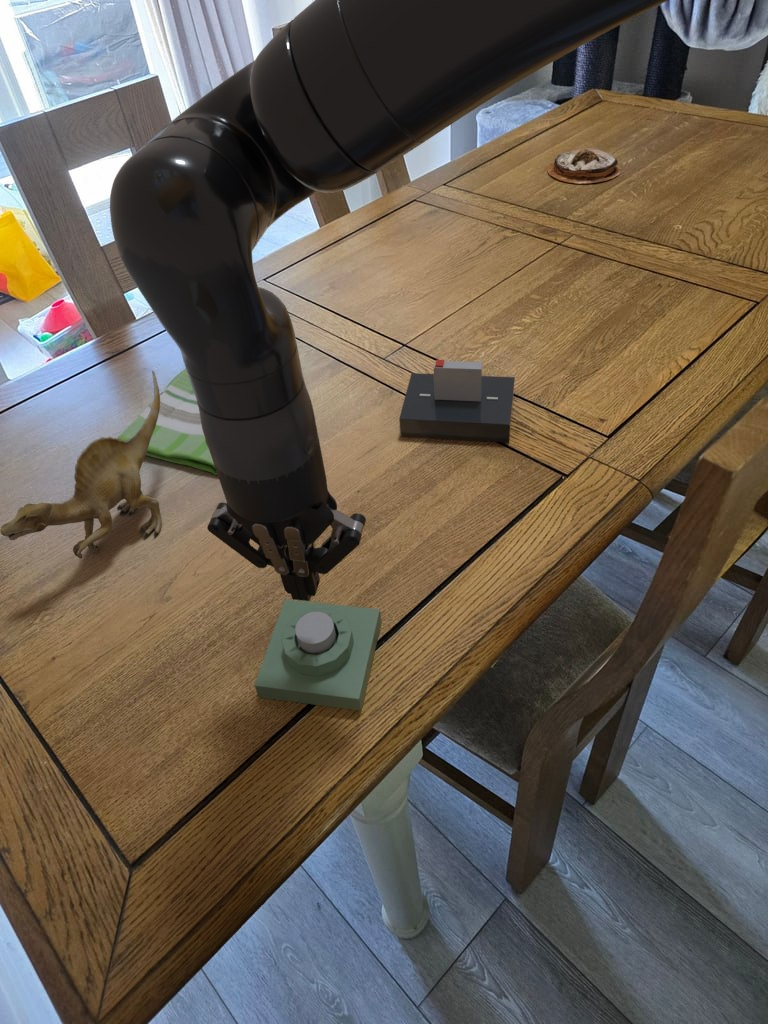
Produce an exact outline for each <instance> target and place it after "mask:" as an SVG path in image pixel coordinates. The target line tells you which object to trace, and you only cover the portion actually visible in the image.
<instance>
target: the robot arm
mask: <svg viewBox="0 0 768 1024" xmlns="http://www.w3.org/2000/svg"><path fill="white" fill-rule="evenodd" d="M668 1H669V0H313V1H312V2H311V3H309V4H308V6H307V7H305V8H304V9H303V10H301V11H300V12H299V13H298V14H297V15H296V16H295V17H294V18H293V19H291V20H290V21H289V22H287V24H286V25H284V26H283V28H281V29H280V30H279V31H278V32H277V33H276V34H275V35H274V36H273V37H272V38H271V39H270V41H269V42H268V43H267V44H266V45H265V46H264V47H263V48H262V49H261V51H260V52H259V54H258V55H257V56H256V57H255V60H253V61H251V62H250V63H248V64H247V65H245V66H244V67H242V68H241V69H239V70H238V71H237V72H235V73H234V74H233V75H231V76H229V77H228V78H226V79H225V80H223V81H222V82H220V84H218V85H217V86H215V87H214V88H213V89H211V90H210V91H208V92H207V93H205V95H203V96H202V97H200V99H198V100H197V101H196V102H194V103H193V104H192V105H190V106H188V107H187V108H186V109H185V110H184V111H183V112H181V113H180V114H178V115H177V116H176V117H174V118H173V119H172V121H170V122H169V123H168V124H167V125H165V126H164V127H163V128H162V129H161V130H160V131H159V132H157V133H156V134H155V135H154V136H153V137H152V138H151V139H150V140H149V141H147V142H146V143H145V144H144V145H143V146H142V147H141V148H139V149H138V150H137V151H136V152H134V153H133V154H132V155H131V156H130V157H129V158H128V159H127V160H126V161H125V162H124V163H122V165H121V167H120V168H119V170H118V171H117V173H116V176H115V177H114V179H113V182H112V186H111V189H110V195H109V214H110V215H109V217H110V225H111V230H112V236H113V239H114V243H115V246H116V250H117V252H118V255H119V258H120V260H121V261H122V263H123V266H124V267H125V269H126V271H127V273H128V275H129V276H130V278H131V280H132V281H133V283H134V284H135V286H136V288H137V289H138V291H139V292H140V293H141V295H142V296H143V298H144V300H145V301H146V303H147V304H148V305H149V308H150V309H151V310H152V312H153V313H154V315H155V316H156V318H157V320H158V321H159V323H160V324H161V326H162V327H163V329H164V330H165V332H166V333H167V334H168V335H169V336H170V338H171V340H173V341H174V343H175V345H176V346H177V348H178V349H179V350H180V353H181V358H182V361H183V364H184V367H185V369H186V370H187V373H188V376H189V379H190V382H191V385H192V388H193V391H194V394H195V397H196V400H197V404H198V408H199V413H200V420H201V425H202V430H203V433H204V436H205V441H206V444H207V446H208V448H209V451H210V454H211V457H212V460H213V463H214V466H215V469H216V472H217V475H216V476H217V478H218V480H219V484H220V486H221V489H222V492H223V495H224V498H225V500H226V502H219V503H218V504H217V505H216V508H215V510H214V511H213V513H212V515H211V518H210V520H209V522H208V524H207V527H206V528H207V531H208V532H209V533H211V534H212V535H213V536H215V538H217V539H218V540H220V541H221V542H223V544H225V545H227V546H228V547H229V548H231V550H233V551H235V552H236V553H237V554H239V555H240V556H241V557H243V558H244V559H245V560H247V561H248V562H249V563H251V564H252V565H254V566H255V567H256V568H258V569H266V568H267V566H270V567H273V569H274V571H275V572H276V573H277V574H279V576H280V579H281V582H282V586H283V590H284V591H285V592H286V593H287V594H289V595H291V600H296V601H306V602H311V598H312V597H315V596H316V595H317V592H318V588H319V585H320V581H321V577H320V575H326V574H329V572H330V571H332V570H333V569H334V568H335V567H337V565H338V564H340V563H341V562H342V561H343V560H344V559H345V558H347V556H348V555H350V553H352V552H353V551H354V550H355V549H356V548H357V547H359V545H360V544H361V539H362V536H363V533H364V529H365V525H366V522H367V518H366V516H365V515H363V514H361V513H353V514H351V515H350V516H349V515H347V514H345V513H343V512H342V511H340V510H338V503H337V501H336V498H334V496H332V495H331V493H330V491H329V489H328V482H327V480H328V479H327V474H326V470H325V465H324V459H323V453H322V448H321V442H320V436H319V432H318V427H317V422H316V416H315V410H314V406H313V403H312V399H311V396H310V393H309V390H308V388H307V386H306V382H305V379H304V375H303V370H302V363H301V359H300V353H299V348H298V343H297V338H296V332H295V328H294V325H293V321H292V318H291V316H290V313H289V311H288V308H287V306H286V305H285V304H284V302H283V301H282V300H281V298H280V297H278V295H276V294H275V293H274V292H272V291H271V290H269V289H267V288H263V287H261V286H258V283H257V280H256V275H255V271H254V262H253V251H254V249H255V248H256V247H257V245H258V243H259V242H260V241H261V238H262V237H263V236H264V235H265V233H266V231H267V230H268V229H269V228H270V227H271V225H273V224H274V223H275V222H277V220H279V219H280V218H281V217H282V216H284V215H285V214H286V213H287V212H289V211H290V210H292V209H293V208H294V207H297V206H298V205H299V204H300V203H302V202H304V201H305V200H307V199H309V198H310V197H312V196H313V195H315V194H316V193H318V192H320V193H324V194H334V193H339V192H342V191H346V190H347V189H350V188H352V187H354V186H356V185H358V184H360V183H362V182H364V181H365V180H367V179H370V178H371V177H372V176H374V175H376V174H378V172H379V171H382V170H383V169H384V168H387V167H388V166H390V165H391V164H393V163H394V162H396V161H397V160H399V159H401V158H402V157H404V156H405V155H407V154H408V153H410V152H411V151H413V150H414V149H416V148H418V147H420V146H421V145H422V144H423V143H425V142H426V141H429V140H430V139H431V138H433V137H434V136H436V135H437V134H439V133H441V132H442V131H443V130H446V128H448V127H449V126H452V125H453V124H454V123H456V122H457V121H458V120H460V119H462V118H463V117H465V116H466V115H468V114H469V113H471V112H473V111H475V110H476V109H477V108H479V107H480V106H482V105H484V104H485V103H487V102H488V101H490V100H491V99H493V98H494V97H497V95H500V94H501V93H503V92H504V91H506V90H507V89H509V88H510V87H512V86H514V85H516V84H517V83H518V82H521V81H522V80H524V79H525V78H527V77H529V76H530V75H532V74H534V73H536V72H538V71H539V70H541V69H542V68H544V67H546V66H548V65H550V64H551V63H553V62H555V61H557V60H558V59H560V58H563V57H564V56H565V55H567V54H569V53H571V52H573V51H575V50H576V49H578V48H580V47H582V46H583V45H585V44H587V43H589V42H591V41H592V40H594V39H596V38H598V37H600V36H602V35H604V34H606V33H607V32H609V31H611V30H613V29H615V28H617V27H619V26H621V25H623V24H624V23H626V22H628V21H631V20H632V19H634V18H636V17H638V16H640V15H643V14H644V13H647V12H648V11H650V10H652V9H654V8H656V7H658V6H660V5H662V4H664V3H666V2H668ZM329 527H331V529H332V530H331V533H330V536H328V537H327V538H326V539H325V540H324V541H323V542H322V543H321V546H320V547H316V541H317V540H318V539H319V538H320V537H321V535H322V534H323V533H325V531H326V530H327V529H328V528H329ZM251 540H252V541H253V542H254V543H255V544H257V545H258V547H257V549H256V548H255V547H253V546H252V545H251V542H250V541H251Z"/></svg>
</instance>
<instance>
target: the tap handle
mask: <svg viewBox="0 0 768 1024" xmlns="http://www.w3.org/2000/svg"><path fill="white" fill-rule="evenodd" d="M483 364H484V363H483V362H482V361H463V360H462V361H461V360H459V361H458V360H445V359H436V360H435V361H434V364H433V374H434V393H435V400H455V401H478V402H481V397H482V376H483V367H484V365H483Z"/></svg>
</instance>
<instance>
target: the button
mask: <svg viewBox="0 0 768 1024" xmlns="http://www.w3.org/2000/svg"><path fill="white" fill-rule="evenodd" d="M295 633H296V636H297V640H298V643H299V646H300V647H301V648H302V649H303V650H304V651H305V652H307V653H310V654H320V653H323V652H325V651H327V650H328V649H330V648H331V647H332V645H333V644H334V642H335V639H336V632H335V628H334V624H333V621H332V619H331V618H330V616H328V615H327V614H325V613H323V612H311V613H308V614H306V615H304V616H302V617H301V618H300V619H299V621H298V622H297V624H296V627H295Z"/></svg>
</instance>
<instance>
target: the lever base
mask: <svg viewBox="0 0 768 1024" xmlns="http://www.w3.org/2000/svg"><path fill="white" fill-rule="evenodd" d="M515 380H516V377H515V376H497V375H496V376H494V375H492V376H491V375H482V397H481V402H478V401H455V400H435V393H434V373H422V372H421V373H417V372H411V374H410V377H409V381H408V384H407V389H406V392H405V395H404V399H403V403H402V407H401V410H400V415H399V418H398V419H399V421H398V422H399V431H400V437H403V438H416V439H417V438H419V439H435V440H436V439H437V440H452V441H453V440H454V441H455V440H456V441H468V442H469V441H470V442H472V441H473V442H487V443H503V444H504V443H507V444H508V443H510V438H511V436H510V435H511V428H512V427H511V426H512V417H513V407H514V398H515V397H514V395H515V382H516V381H515Z"/></svg>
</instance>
